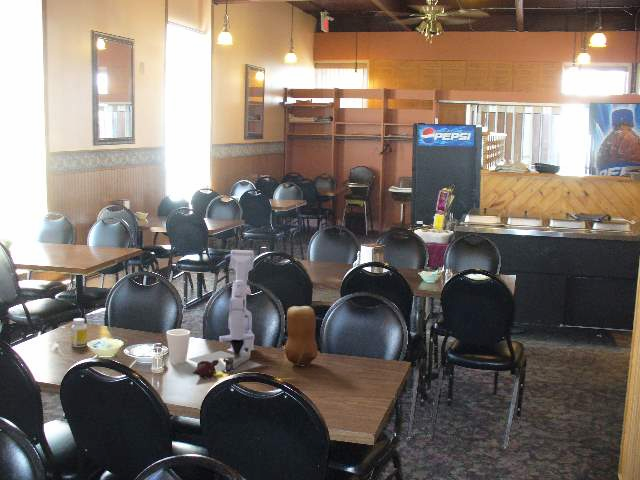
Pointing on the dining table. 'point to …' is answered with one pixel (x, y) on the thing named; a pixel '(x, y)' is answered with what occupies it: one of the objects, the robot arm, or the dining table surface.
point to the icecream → (206, 368)
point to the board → (220, 366)
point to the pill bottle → (79, 333)
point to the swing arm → (238, 358)
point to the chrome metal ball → (228, 368)
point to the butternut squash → (301, 335)
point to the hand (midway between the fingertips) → (236, 357)
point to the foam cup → (178, 345)
